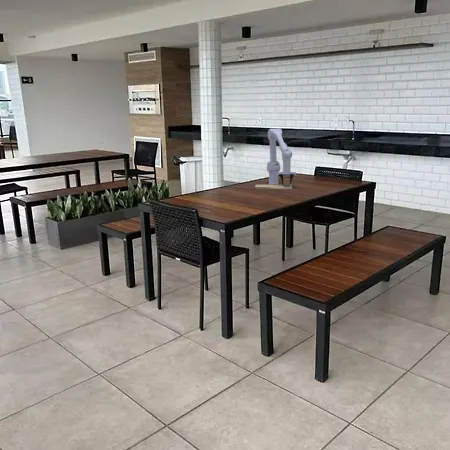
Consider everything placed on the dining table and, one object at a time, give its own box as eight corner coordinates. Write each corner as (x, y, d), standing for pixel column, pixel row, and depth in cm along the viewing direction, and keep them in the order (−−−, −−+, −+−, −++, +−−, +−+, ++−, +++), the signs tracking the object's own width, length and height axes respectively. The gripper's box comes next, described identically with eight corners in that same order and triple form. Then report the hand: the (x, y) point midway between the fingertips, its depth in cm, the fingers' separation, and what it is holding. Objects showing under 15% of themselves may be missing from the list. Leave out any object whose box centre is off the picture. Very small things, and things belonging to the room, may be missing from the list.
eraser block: (283, 184, 370) (283, 176, 368) (289, 184, 369) (289, 176, 368) (283, 185, 363) (283, 178, 362) (289, 185, 363) (290, 178, 361)
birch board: (255, 186, 374) (255, 184, 374) (291, 186, 371) (291, 184, 371) (255, 189, 364) (255, 187, 364) (291, 188, 362) (292, 186, 361)
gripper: (277, 167, 360) (277, 185, 363) (296, 167, 358) (296, 185, 362) (277, 166, 366) (277, 183, 370) (296, 166, 365) (295, 183, 368)
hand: (286, 184), depth 366 cm, fingers open, 5 cm apart
